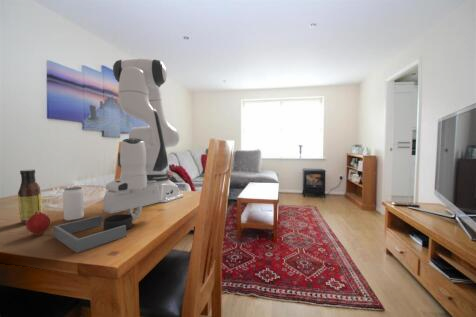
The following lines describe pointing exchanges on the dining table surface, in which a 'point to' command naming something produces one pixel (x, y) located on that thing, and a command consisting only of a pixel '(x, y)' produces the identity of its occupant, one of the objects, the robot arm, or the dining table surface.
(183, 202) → the dining table surface
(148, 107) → the robot arm
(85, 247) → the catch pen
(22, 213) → the sauce bottle
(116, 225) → the smart speaker
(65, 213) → the can
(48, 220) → the onion
